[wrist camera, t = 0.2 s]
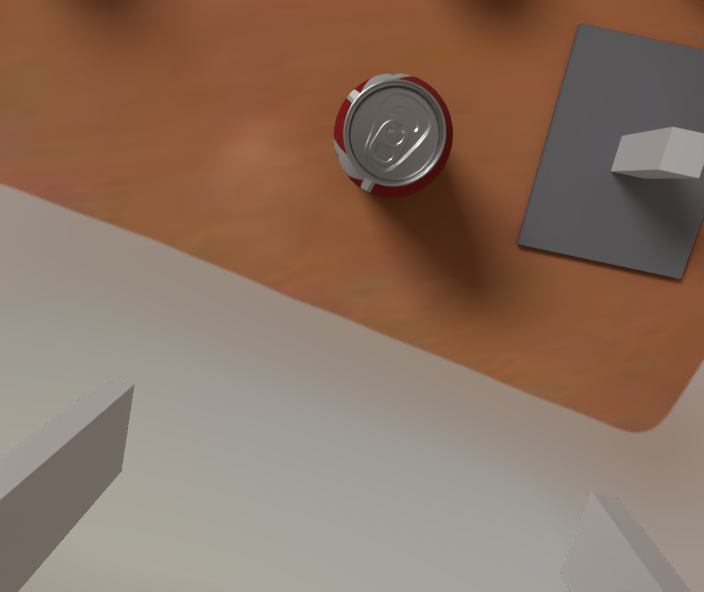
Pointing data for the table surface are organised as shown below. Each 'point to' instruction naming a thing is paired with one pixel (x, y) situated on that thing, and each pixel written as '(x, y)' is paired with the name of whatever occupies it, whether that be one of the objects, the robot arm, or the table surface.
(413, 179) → the soda can
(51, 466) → the robot arm
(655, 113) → the grey square base plate
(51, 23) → the table surface
